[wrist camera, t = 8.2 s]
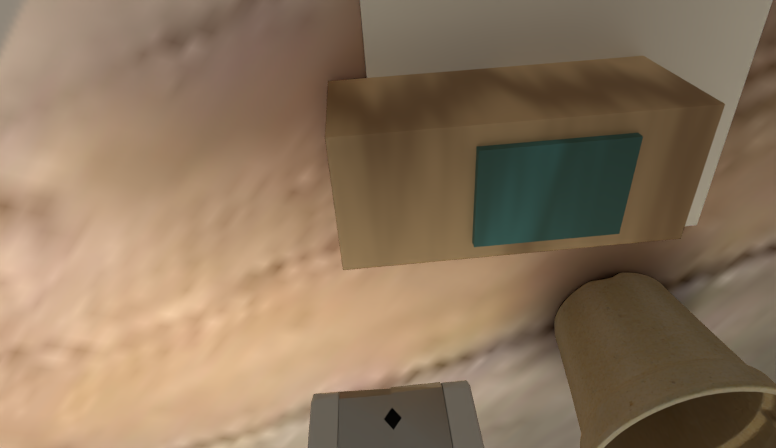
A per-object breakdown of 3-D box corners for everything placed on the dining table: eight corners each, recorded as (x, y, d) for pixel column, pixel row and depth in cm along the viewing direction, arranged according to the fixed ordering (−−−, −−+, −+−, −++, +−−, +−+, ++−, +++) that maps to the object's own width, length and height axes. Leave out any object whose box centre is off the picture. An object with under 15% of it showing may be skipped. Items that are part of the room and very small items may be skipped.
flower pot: (507, 372, 30) (558, 525, 23) (542, 245, 25) (622, 391, 18) (658, 368, 31) (752, 514, 24) (722, 244, 26) (866, 383, 19)
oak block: (328, 81, 19) (643, 55, 19) (342, 195, 22) (617, 171, 22) (324, 142, 15) (731, 107, 15) (343, 275, 18) (685, 243, 18)
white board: (781, -65, 18) (793, -63, 18) (689, 218, 25) (696, 225, 24) (357, -29, 18) (357, -27, 17) (381, 248, 24) (382, 256, 24)
